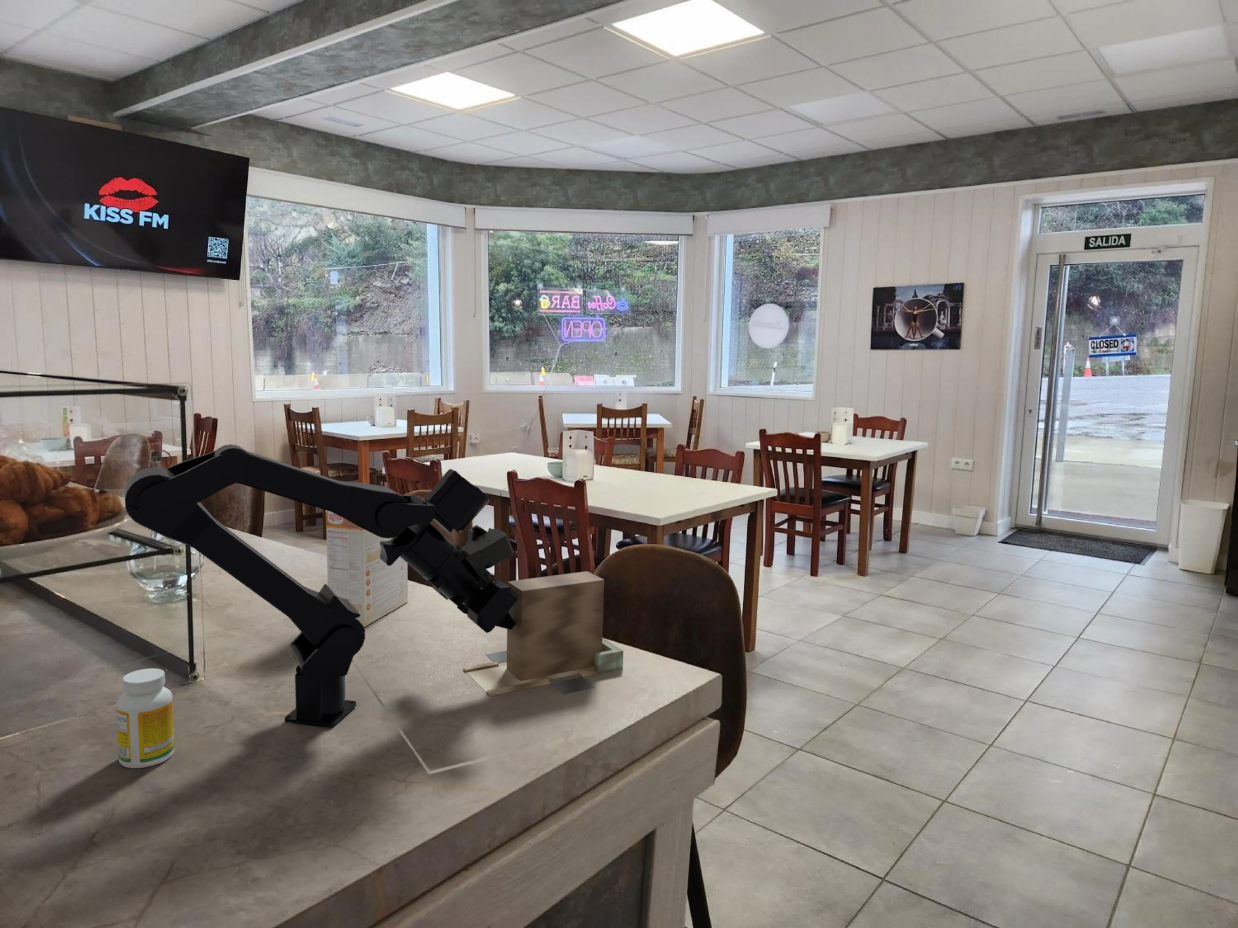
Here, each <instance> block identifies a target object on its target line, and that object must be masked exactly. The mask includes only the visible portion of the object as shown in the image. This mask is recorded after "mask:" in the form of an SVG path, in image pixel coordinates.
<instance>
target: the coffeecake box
mask: <svg viewBox="0 0 1238 928" xmlns="http://www.w3.org/2000/svg"><path fill="white" fill-rule="evenodd" d="M325 520H326V521H325V522H326V524H325V527H326V530H325V531H326V563H327V565H326V568H327V570H326V571H327V585H328V587H329V588H330V589H331V590H332V591H333V592H334V593H335V594H336V595H337V596H339V597H340V598H343V599H347V600H348V601H349V602H350V603H351V604H352V606H353V607H354V608H355V609H356V610H357V611H358V613H359V614H360V617H358V618H357V619H358V620H359V621H360V622H361V624H362V625H363V627H364V628H365V627H367V626H369V625H371V624H372V623H374V622H376V621H377V620H379V619H381V618H383V617H384V616H386V615H388V614H389V613H391V612H392V611H394V610H396V609H399V608H400V607H401V606H403V605H405V604H407V603H408V602H409V595H408V594H409V590H408V589H409V587H408V586H409V584H408V580H409V578H408V576H409V575H408V563H407V562H406V561H404V560H403V559H402V558H401V557H399V558H398V559H397V560H396V561H395V562H394V563H393V564H392V565H391V566H388V565H387V564H385V563H384V562H383V561H382V560H381V559H380V553H381V546H380V542H381V541H388V540H391V539H392V538H389V539H388V538H381V537H379V536H376V535H375V534H373V533H371V532H369V531H367V530H365V529H363V528H361V527H359V526H357V525H355V524H353V523H352V522H350V521H348V520H346V519H344V518H343V517H341V516H339V515H337V514H335V513H333V512H330V511H327V510H325Z"/></svg>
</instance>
